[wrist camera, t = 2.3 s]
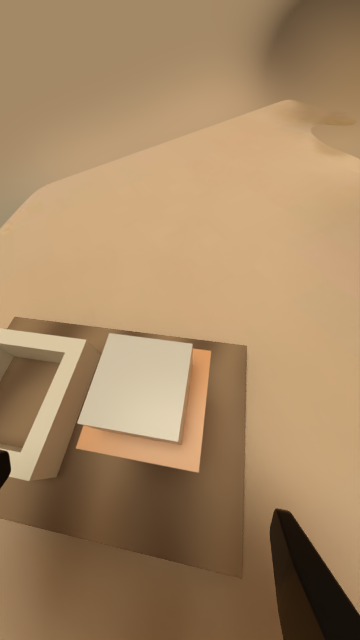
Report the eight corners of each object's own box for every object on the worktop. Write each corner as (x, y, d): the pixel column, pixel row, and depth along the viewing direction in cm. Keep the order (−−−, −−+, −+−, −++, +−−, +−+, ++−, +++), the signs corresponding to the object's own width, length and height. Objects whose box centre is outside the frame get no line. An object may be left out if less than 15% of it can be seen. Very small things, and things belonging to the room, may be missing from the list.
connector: (203, 397, 18) (214, 328, 8) (196, 465, 15) (200, 477, 6) (147, 388, 18) (97, 314, 9) (132, 452, 16) (44, 445, 6)
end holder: (100, 355, 20) (86, 339, 17) (56, 477, 15) (29, 480, 13) (9, 342, 21) (-17, 326, 18) (-57, 452, 17) (-103, 451, 14)
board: (244, 351, 21) (246, 345, 20) (238, 569, 14) (242, 578, 13) (22, 323, 23) (14, 316, 22) (-77, 492, 16) (-95, 494, 15)
